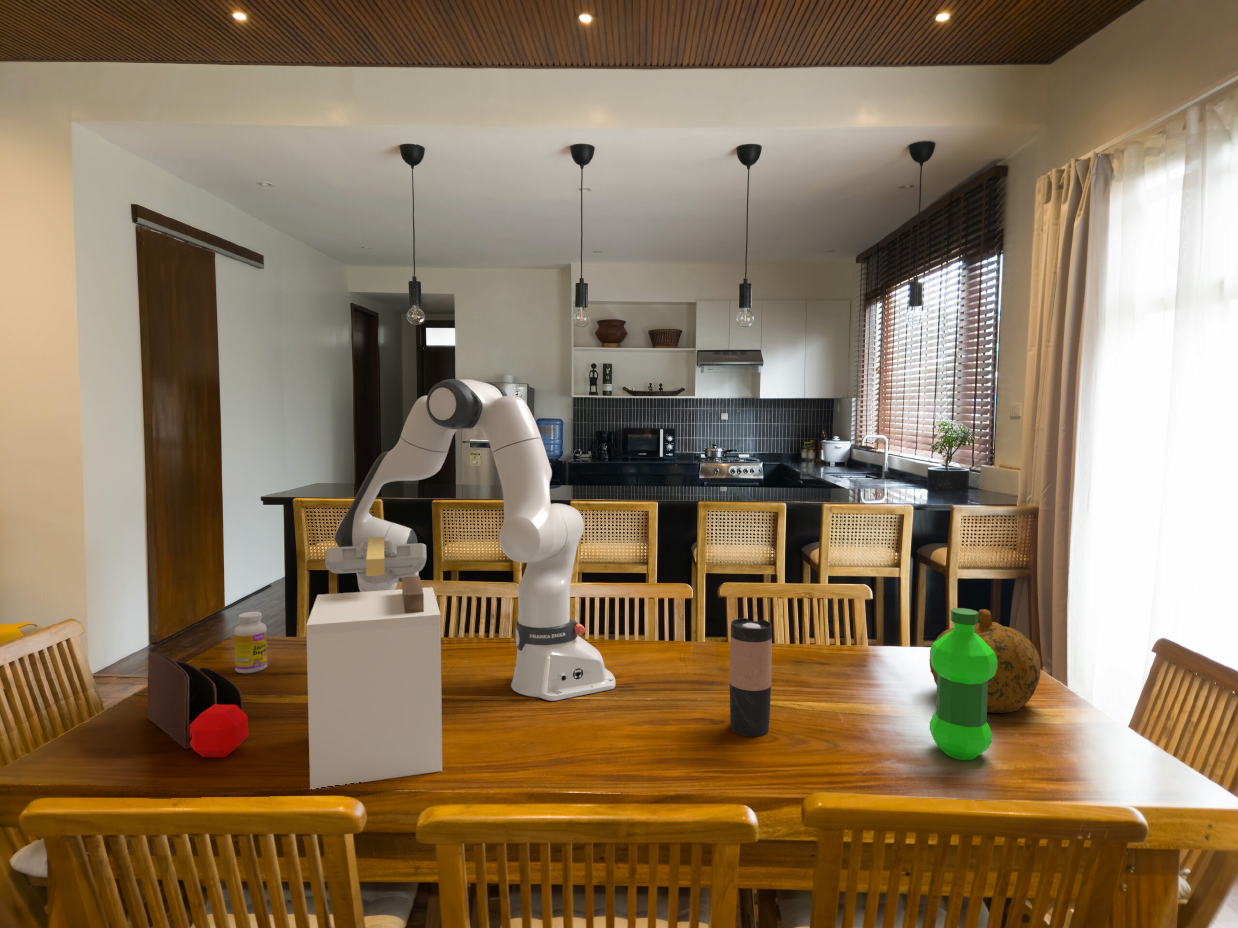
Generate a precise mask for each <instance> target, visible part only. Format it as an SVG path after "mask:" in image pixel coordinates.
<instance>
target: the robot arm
mask: <svg viewBox="0 0 1238 928" xmlns="http://www.w3.org/2000/svg"><path fill="white" fill-rule="evenodd" d="M458 430H467V431H479V430H481V431H482V432H483V433H484V434H485V436H486V438H487V439H488V443H489V446H490V450H491V454H492V456H493V459H494V463H495V466H496V467H495V468H496V470H497V474H498V476H499V477H498V478H499V480H500V484H501V489H502V495H503V522H502V526H501V527H500V531H499V538H498V539H499V545H500V548H501V550H502V552H503V553H504V554H505V556H506V557H507V558H508V559H510V560H511V561H514V562H517V563H521V564H522V563H525V564H526V567H525V570H524V573H523V575H522V577H521V579H520V580H519V581H520V582H519V583H518V588H517V590H518V591H517V592H518V593H517V594H518V600H517V601H518V606H517V607H518V611H517V612H518V620H517V621H516V625H515V626H516V627H515V645H516V648H517V653H516V659H515V660H516V661H515V668H514V671H513V672H514V673H513V677H512V681H511V684H510V688H511V689H512V690H513V691H514V692H516V693H517V694H520V695H523V696H526V697H532V698H540V699H543V700H545V701H551V702H554V701H561V700H564V699H570V698H575V697H579V696H584V695H589V694H594V693H598V692H604V691H610V690H613V689H614V688H615V687H616V678H615V676H614V674H613V673H612V672H611V671H610V670H608V669H607V668H606V667H605V662H604V659H603V657H602V654H601V652H600V651H599V650H598V649H597V648H596V647H595V646H593V645H592V644H591V643H590V642H587V641H586V640H585V639H584V638H583V637H581V636H582V635H584V633H585V632H586V629H585V627H584V625H582V624H581V623H579V622H578V621H576V620H574V619H572V618H571V613H570V611H571V608H570V607H571V583H572V576H573V570H574V564H575V560H576V555H577V550H578V546H579V543H580V540H581V538H582V536H583V534H584V530H585V523H584V522H585V521H584V519H583V517H582V514H581V513H580V512H579V510H577V508H574V507H573V506H571V505H568V504H565V503H558V502H557V503H554V502H553V503H551V494H550V493H551V489H550V487H551V486H550V484H551V483H550V482H551V480H552V476H553V470H552V467H551V465H550V461H549V458H548V455H547V451H546V448H545V445H544V441H543V438H542V436H541V433H540V430H539V428H538V425H537V422H536V420H535V418H534V416H533V414H532V412H531V410H530V408H529V406H528V405H527V403H526V401H525V400H524V399H523V398H521V397H519V396H517V395H509V394H507V393H506V391H505V390H504V389H503V388H502V387H500V386H499V385H497V384H495V383H492V382H486V381H485V382H483V381H479V380H475V379H471V378H470V379H466V378H465V379H456V378H449V379H444V380H442V381H439V382H437V383H435V384H434V385H433V386H432V387H431V388H430V390H429V391H428V393H427V395H423V396H420V397H419V398H418V399H416V401H415V402H414V404H413V406H412V407H411V409H410V412H409V414H408V415H407V418H406V420H405V423H404V424H403V428H402V431H401V434H400V436H399V438H398V439H399V440H398V441H397V443H396V445H395V446H394V447H393V448H392V449H391V450H389V451H383V452H382V453H380V455H379V456H378V457H377V458H376V460H375V461H374V462H373V464H372V466H371V467H370V468H369V471H368V473H367V474H366V476H365V478H364V480H363V482H362V484H361V486H360V487H359V490H358V491H357V494H356V495H355V497H354V499H353V501H352V503H351V505H349V508H348V511H347V512H346V514H345V515H344V516H343V517H342V519H341V520H340V521H339V523H338V524H337V528H336V530H335V534H334V541H335V543H336V545H337V546H332V547H328V548H326V549H325V555H324V559H325V560H324V562H325V568H326V569H327V570H329V571H330V572H331V573H333V574H353V573H356V576H357V586H358V589H359V592H368V591H383V590H397V586H398V583H400V582H401V583H402V577H414V576H420V575H419V574H420V573H419V572H421V571H422V570H423V569H424V567H425V565H426V562H427V545H426V544H424V543H422V542H419V543H418V537H417V534H416V532H415V531H414V529H413V528H410V527H407V526H405V525H401V524H400V523H399V524H398V523H396V522H392V521H388V520H385V519H383V518H379V517H376V516H373V515H372V514H371V513H370V509H371V507H372V506H373V504H374V502H375V500H376V498H377V496H378V494H379V492H380V491H381V489H382V487H383V486H384V485H385V484H387V483H391V482H392V483H393V482H403V481H405V482H407V481H413V482H414V481H420V480H425V479H428V478H430V477H433V476H434V475H436V474H437V473H438V472H439V471H440V470H441V469H442V466H443V464H444V463H445V460H446V458H447V455H448V453H449V451H450V450H449V449H450V446H451V444H452V439H453V437H454V435H455V433H456V432H457V431H458ZM370 537H384V575H380V576H366V557H367V549H368V540H369V538H370Z"/></svg>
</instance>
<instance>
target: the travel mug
mask: <svg viewBox="0 0 1238 928" xmlns="http://www.w3.org/2000/svg"><path fill="white" fill-rule="evenodd" d="M772 626H773V625H772V623H771V622H770V621H768V620H765V619H759V620H755V621H754V620H753V621H752V620H749V619H748V618H746V617H740V618H735V619H733V620H732V621H731V622H730V646H729V648H730V649H729V650H730V651H729V653H730V654H729V658H730V659H729V719H730V720H729V721H730V722H729V725H730V729H731V730H732V732H733V733H736V734H738V735H740V736H745V737H760V736H765V735H766V734H768V733H769V730H770V717H771V715H770V714H771V700H772V699H771V695H772V653H773V652H772V648H773V647H772V646H773V645H772V643H773V642H772V640H773V639H772V637H773V634H772V633H773V632H772V628H773V627H772Z"/></svg>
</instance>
